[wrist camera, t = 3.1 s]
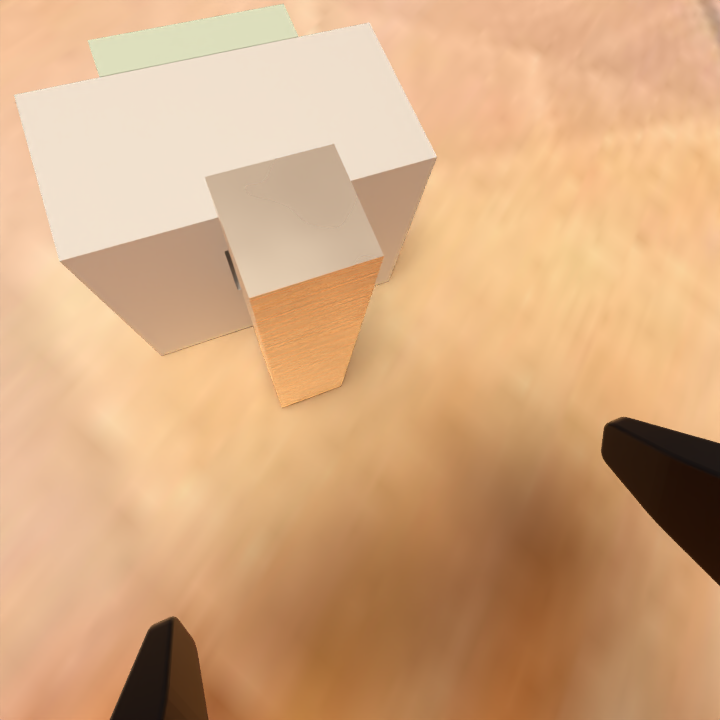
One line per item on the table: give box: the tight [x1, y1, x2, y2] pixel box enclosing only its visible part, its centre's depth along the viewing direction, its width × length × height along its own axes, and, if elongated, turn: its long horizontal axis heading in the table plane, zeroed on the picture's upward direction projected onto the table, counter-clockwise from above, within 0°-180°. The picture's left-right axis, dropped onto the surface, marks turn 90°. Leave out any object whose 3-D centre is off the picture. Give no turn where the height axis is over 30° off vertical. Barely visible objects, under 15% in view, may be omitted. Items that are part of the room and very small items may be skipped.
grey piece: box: [205, 144, 384, 408], centre depth 17 cm, size 15×3×13 cm, turn 22°
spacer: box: [88, 4, 298, 77], centre depth 20 cm, size 2×7×7 cm, turn 112°
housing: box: [14, 23, 437, 356], centre depth 19 cm, size 6×12×10 cm, turn 112°
